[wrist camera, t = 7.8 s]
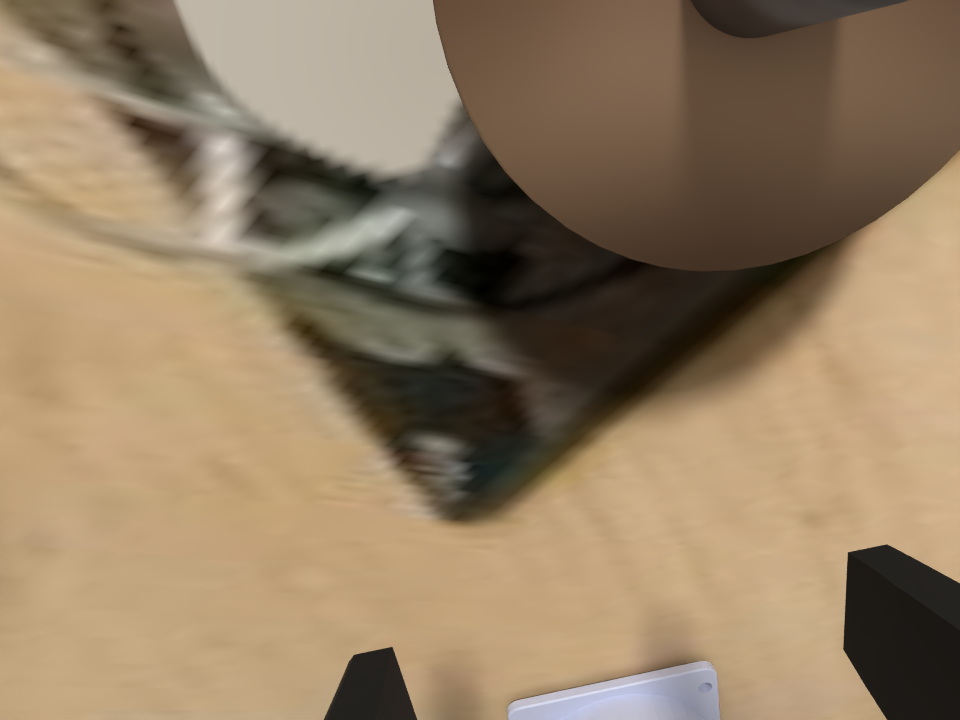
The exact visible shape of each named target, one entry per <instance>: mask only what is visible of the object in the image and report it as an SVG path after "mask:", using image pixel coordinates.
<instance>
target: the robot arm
mask: <svg viewBox="0 0 960 720" xmlns="http://www.w3.org/2000/svg"><path fill="white" fill-rule="evenodd" d="M843 649H844V651H845V653H846V654H847V656H848V658H849V659H850V661H851V663H852V664H853V666H854V668H855V669H856V671H857V673H858V674H859V676H860V678H861V679H862V681H863V683H864V684H865V686H866V687H867V689H868V691H869V692H870V694H871V695H872V697H873V698H874V700H875V702H876V703H877V705H878V706H879V708H880V709H881V711H882V712H883V714H884V716H885V717H886V719H887V720H960V583H958V582H956V581H954V580H953V579H951V578H949V577H947V576H945V575H943V574H942V573H940V572H938V571H936V570H934V569H932V568H931V567H929V566H927V565H925V564H923V563H921V562H919V561H918V560H916V559H914V558H912V557H910V556H908V555H906V554H904V553H903V552H901V551H899V550H897V549H895V548H893V547H891V546H889V545H882V546H877V547H872V548H867V549H863V550H858V551H853V552H848V562H847V583H846V605H845V626H844V648H843ZM507 716H508V720H720V709H719V695H718V681H717V673H716V671H715V669H714V667H713V665H712V664H711V663H710V662H707V661H698V662H693V663H689V664H684V665H679V666H675V667H670V668H665V669H660V670H656V671H651V672H646V673H642V674H637V675H632V676H628V677H623V678H618V679H614V680H609V681H604V682H600V683H595V684H590V685H586V686H581V687H576V688H572V689H567V690H562V691H557V692H553V693H548V694H543V695H539V696H534V697H529V698H525V699H520V700H516V701H514V702H512V703H511V704H510V705H509V706H508V708H507ZM324 720H417V718H416V715H415V712H414V709H413V706H412V703H411V700H410V697H409V694H408V691H407V688H406V685H405V683H404V680H403V677H402V674H401V671H400V668H399V665H398V662H397V659H396V656H395V653H394V650H393V647H390V648H385V649H380V650H375V651H371V652H366V653H361V654H356V655H354V656H353V657H352V659H351V660H350V661H349V663H348V666H347V668H346V670H345V673H344V675H343V677H342V680H341V682H340V684H339V687H338V689H337V691H336V693H335V696H334V698H333V700H332V703H331V705H330V707H329V709H328V712H327V714H326V716H325V718H324Z"/></svg>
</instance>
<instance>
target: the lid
mask: <svg viewBox="0 0 960 720" xmlns="http://www.w3.org/2000/svg"><path fill="white" fill-rule="evenodd" d="M433 3H434V11H435V16H436V24H437V28H438V31H439V35H440V39H441V42H442V46H443V50H444V54H445V57H446V61H447V65H448V68H449V71H450V73H451V75H452V78H453V81H454V83H455V86H456V88H457V91H458V93H459V96H460V98H461V101H462V103H463V106H464V108H465V110H466V111H467V113H468V115H469V117H470V119H471V120H472V122H473V124H474V126H475V128H476V130H477V131H478V133H479V135H480V137H481V139H482V140H483V142H484V143H485V145H486V146H487V148H488V149H489V150H490V152H491V153H492V154H493V156H494V157H495V159H496V160H497V161H498V163H499V164H500V165H501V167H502V168H503V170H504V171H505V172H506V173H507V174H508V175H509V177H510V178H511V179H512V180H513V181H514V182H515V183H516V184H517V185H518V186H519V187H520V188H521V189H522V190H523V191H524V192H525V193H526V194H527V195H528V196H529V197H530V198H531V199H532V200H533V201H534V202H535V203H537V204H538V205H539V206H540V207H542V208H543V209H544V210H545V211H547V212H548V213H549V214H550V215H552V216H553V217H554V218H555V219H557V220H558V221H559V222H560V223H562V224H563V225H564V226H565V227H567V228H568V229H570V230H572V231H574V232H575V233H577V234H579V235H580V236H582V237H584V238H586V239H587V240H589V241H591V242H592V243H594V244H596V245H597V246H600V247H602V248H605V249H607V250H610V251H612V252H614V253H617V254H619V255H622V256H624V257H627V258H629V259H632V260H636V261H640V262H644V263H648V264H652V265H656V266H660V267H664V268H673V269H682V270H691V271H730V270H740V269H746V268H753V267H759V266H765V265H771V264H774V263H778V262H781V261H785V260H788V259H792V258H795V257H799V256H802V255H806V254H808V253H810V252H813V251H815V250H818V249H820V248H822V247H825V246H827V245H830V244H832V243H834V242H837V241H839V240H841V239H843V238H845V237H847V236H848V235H850V234H852V233H854V232H856V231H857V230H859V229H861V228H863V227H865V226H866V225H868V224H870V223H872V222H874V221H875V220H877V219H878V218H880V217H881V216H882V215H884V214H885V213H887V212H888V211H890V210H891V209H892V208H894V207H895V206H897V205H898V204H900V203H901V202H902V201H904V200H905V199H907V198H908V197H909V196H910V195H912V194H913V193H914V192H915V191H916V190H917V189H919V188H920V187H921V186H922V185H923V184H924V183H925V182H927V181H928V180H929V179H930V178H931V177H932V176H934V175H935V174H936V173H937V172H938V171H939V170H940V169H941V168H942V167H943V166H944V165H945V164H946V163H947V162H948V161H949V160H950V159H951V158H952V157H953V156H954V155H955V154H956V153H957V152H958V151H959V150H960V0H433Z"/></svg>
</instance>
